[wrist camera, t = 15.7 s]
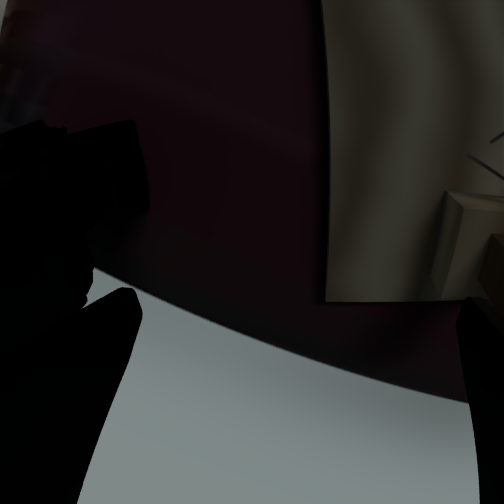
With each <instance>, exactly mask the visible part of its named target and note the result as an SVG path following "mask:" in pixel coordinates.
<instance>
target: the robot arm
mask: <svg viewBox="0 0 504 504" xmlns="http://www.w3.org/2000/svg"><path fill="white" fill-rule="evenodd" d="M127 124H128V125H129V126H130V129H129V130H128V129H127ZM69 139H70V140H71V142H70V141H69ZM146 184H147V178H146V173H145V168H144V162H143V156H142V151H141V149H140V147H139V142H138V136H137V130H136V125H135V122H134V121H132V120H125V121H120V122H115V123H111V124H106V125H102V126H98V127H94V128H90V129H86V130H82V131H78V132H75V133H71V134H68V135H67V129H66V127H63V128H58V129H57V128H56V126H54V127H48V126H47V125H46V124H45V123H44V122H43V121H42V120H39V121H35V122H32V123H29V124H26V125H23V126H20V127H17V128H14V129H12V130H9V131H7V132H4V133H2V134H0V504H77V501H78V498H79V495H80V492H81V489H82V486H83V481H84V479H85V476H86V473H87V470H88V467H89V464H90V461H91V458H92V455H93V453H94V449H95V447H96V444H97V442H98V439H99V436H100V433H101V431H102V428H103V425H104V423H105V420H106V417H107V415H108V412H109V410H110V407H111V405H112V402H113V399H114V397H115V394H116V392H117V389H118V387H119V384H120V382H121V380H122V377H123V375H124V372H125V370H126V367H127V365H128V362H129V359H130V356H131V353H132V349H133V346H134V343H135V340H136V336H137V333H138V330H139V327H140V324H141V321H142V316H143V315H142V314H143V313H142V309H141V306H140V303H139V300H138V297H137V294H136V292H135V290H134V289H132V288H124V287H121V288H118V289H116V290H114V291H113V292H111V293H109V294H107V295H106V296H104V297H102V298H100V299H98V300H97V301H95V302H93V303H91V304H89V305H88V306H86V307H84V306H85V304H86V303H87V301H88V300H87V296H86V295H87V294H88V292H89V289H90V287H91V285H92V283H93V269H94V267H95V264H94V260H93V258H92V257H91V255H90V252H89V248H88V245H87V241H86V237H85V233H86V232H87V231H88V230H89V229H91V228H92V227H93V226H94V225H95V224H97V223H98V222H99V221H100V220H101V219H103V218H104V217H105V216H106V215H108V214H109V213H110V212H117V211H134V210H144V209H146V208H147V207H148V206H149V197H148V192H147V187H146ZM140 200H142V201H143V202H144V205H143V204H141V202H140ZM83 307H84V308H83ZM456 332H457V337H458V343H459V349H460V356H461V363H462V371H463V377H464V382H465V387H466V391H467V396H468V401H469V406H470V411H471V418H472V424H473V431H474V438H475V445H476V454H477V464H478V475H479V494H480V504H504V314H503V313H502V312H501V311H499V310H498V309H496V308H495V307H494V306H492V305H491V304H490V303H488V302H487V301H486V300H484V299H483V298H481V297H480V296H468V297H466V298H465V300H464V302H463V305H462V307H461V310H460V313H459V315H458V318H457V321H456Z"/></svg>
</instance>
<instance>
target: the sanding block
mask: <svg viewBox="0 0 504 504" xmlns="http://www.w3.org/2000/svg"><path fill="white" fill-rule="evenodd" d="M429 275H430V277H431V279H432V281H433V283H434V285H435V287H436V289H437V291H438V294H439V296H440V298H466V297H468V296H480V297H489V299H490V301H491V302H492V304H493V306H494V307H495V308H496V309H498V310H499V311H501V312H502V313H503V314H504V197H502V196H495V195H487V194H478V193H469V192H459V191H449V190H445V197H444V203H443V209H442V214H441V220H440V225H439V230H438V235H437V239H436V244H435V249H434V253H433V257H432V261H431V265H430V269H429Z"/></svg>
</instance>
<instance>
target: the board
mask: <svg viewBox="0 0 504 504" xmlns="http://www.w3.org/2000/svg"><path fill="white" fill-rule="evenodd" d="M320 5H321V15H322V25H323V36H324V48H325V62H326V78H327V98H328V128H329V212H328V243H327V264H326V281H325V301H326V302H411V301H448V300H465V298H440V296H439V294H438V291H437V289H436V287H435V285H434V283H433V281H432V279H431V277H430V275H429V269H430V265H431V261H432V257H433V253H434V249H435V244H436V239H437V235H438V230H439V225H440V220H441V214H442V209H443V203H444V197H445V190H449V191H459V192H469V193H478V194H487V195H495V196H502V197H504V0H320ZM481 298H483V299H489V297H481Z"/></svg>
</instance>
